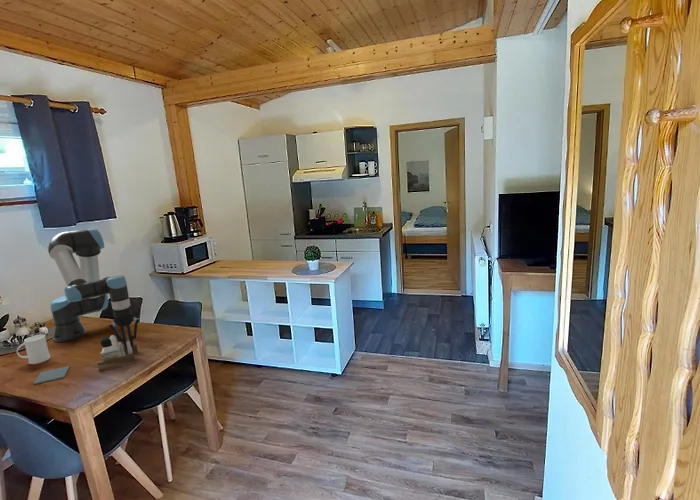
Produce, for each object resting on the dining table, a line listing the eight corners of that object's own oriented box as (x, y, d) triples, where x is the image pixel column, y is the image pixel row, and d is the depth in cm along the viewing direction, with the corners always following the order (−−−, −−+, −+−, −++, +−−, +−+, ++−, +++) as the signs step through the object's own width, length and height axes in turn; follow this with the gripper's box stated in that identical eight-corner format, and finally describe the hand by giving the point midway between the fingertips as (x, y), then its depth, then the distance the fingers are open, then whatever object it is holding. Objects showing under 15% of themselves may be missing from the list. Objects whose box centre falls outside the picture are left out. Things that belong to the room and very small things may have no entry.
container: (105, 367, 175) (96, 343, 172) (108, 360, 182) (99, 336, 179) (123, 362, 178) (115, 337, 175) (125, 355, 185) (118, 331, 182)
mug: (19, 368, 179) (13, 345, 177) (21, 361, 186) (15, 339, 184) (50, 360, 186) (44, 338, 183) (51, 354, 193) (46, 332, 190)
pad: (41, 373, 173) (41, 372, 173) (69, 367, 178) (69, 365, 178) (33, 384, 163) (33, 383, 163) (64, 377, 168) (63, 376, 168)
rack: (103, 358, 185) (102, 351, 184) (137, 351, 191) (136, 343, 190) (98, 371, 172) (97, 363, 171) (135, 362, 178) (134, 355, 178)
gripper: (104, 313, 172) (114, 359, 177) (136, 307, 178) (145, 352, 183) (106, 308, 179) (116, 353, 184) (137, 302, 184) (145, 346, 189)
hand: (130, 352), depth 183 cm, fingers closed
